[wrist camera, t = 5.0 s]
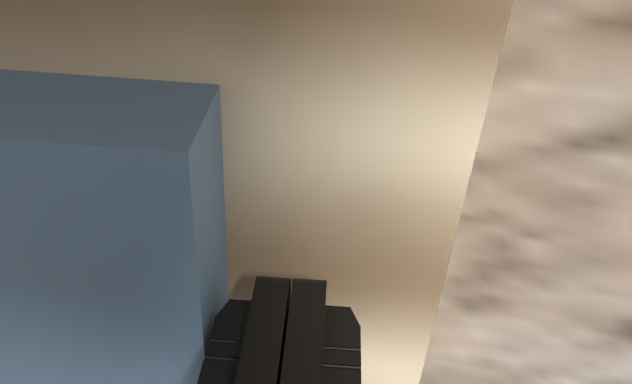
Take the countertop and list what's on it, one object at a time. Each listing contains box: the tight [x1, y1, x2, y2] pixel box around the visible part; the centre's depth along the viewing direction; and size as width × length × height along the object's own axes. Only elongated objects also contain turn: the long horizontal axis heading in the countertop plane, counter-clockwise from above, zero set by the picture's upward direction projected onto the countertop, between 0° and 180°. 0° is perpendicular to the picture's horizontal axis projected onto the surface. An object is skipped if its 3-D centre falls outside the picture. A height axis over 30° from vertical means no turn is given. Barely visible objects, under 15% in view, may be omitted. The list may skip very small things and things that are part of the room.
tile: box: [0, 69, 229, 384], centre depth 12 cm, size 9×6×2 cm, turn 177°
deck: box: [0, 0, 513, 384], centre depth 15 cm, size 18×12×4 cm, turn 177°
